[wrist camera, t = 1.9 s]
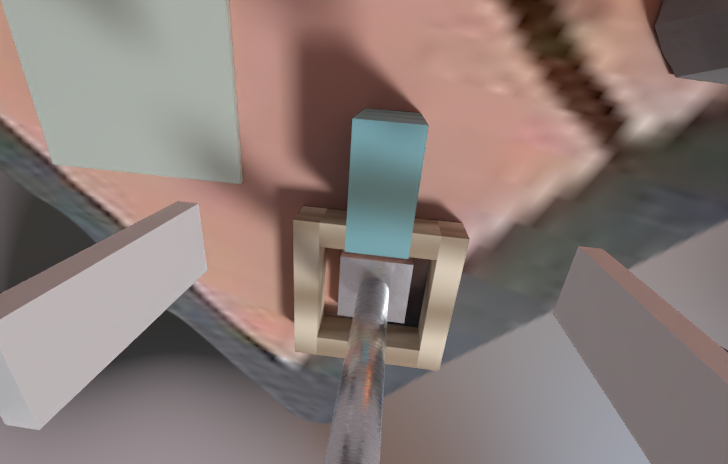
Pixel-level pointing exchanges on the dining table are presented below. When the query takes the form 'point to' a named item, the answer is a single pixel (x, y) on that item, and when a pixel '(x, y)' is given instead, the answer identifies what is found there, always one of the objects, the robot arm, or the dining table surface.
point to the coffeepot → (695, 38)
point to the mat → (133, 84)
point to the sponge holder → (379, 241)
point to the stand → (365, 352)
